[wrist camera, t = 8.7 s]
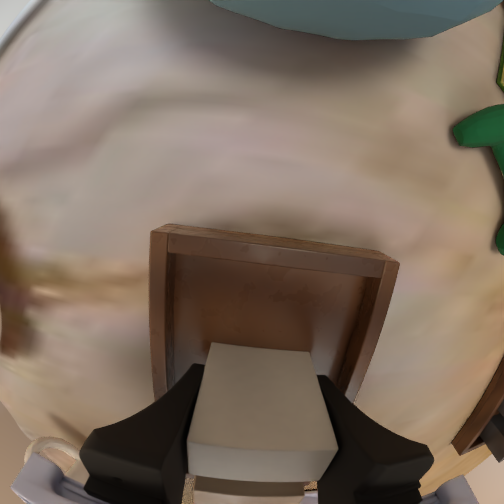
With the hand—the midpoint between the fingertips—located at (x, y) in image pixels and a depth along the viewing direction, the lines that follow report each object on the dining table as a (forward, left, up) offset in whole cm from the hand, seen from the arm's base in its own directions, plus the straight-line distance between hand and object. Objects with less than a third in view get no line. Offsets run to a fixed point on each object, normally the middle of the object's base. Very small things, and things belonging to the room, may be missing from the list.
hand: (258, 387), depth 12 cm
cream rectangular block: (0, 0, -2) cm, 2 cm away
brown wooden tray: (-2, 0, -2) cm, 3 cm away
